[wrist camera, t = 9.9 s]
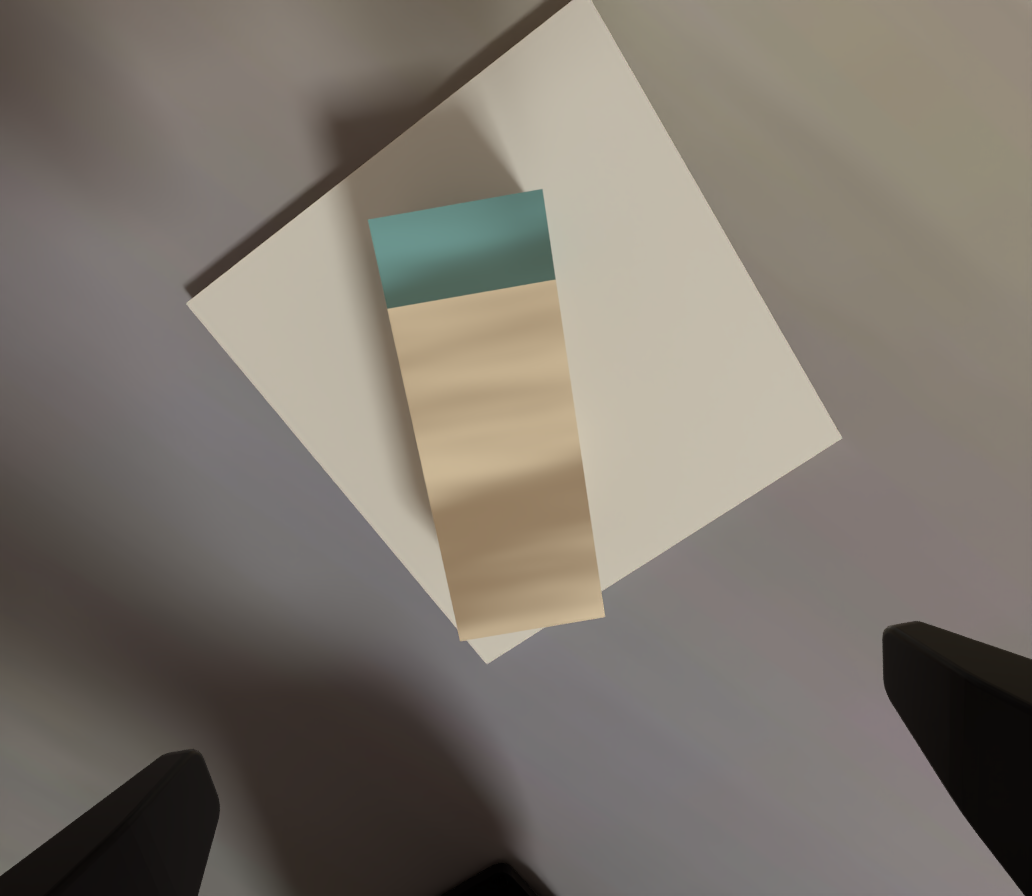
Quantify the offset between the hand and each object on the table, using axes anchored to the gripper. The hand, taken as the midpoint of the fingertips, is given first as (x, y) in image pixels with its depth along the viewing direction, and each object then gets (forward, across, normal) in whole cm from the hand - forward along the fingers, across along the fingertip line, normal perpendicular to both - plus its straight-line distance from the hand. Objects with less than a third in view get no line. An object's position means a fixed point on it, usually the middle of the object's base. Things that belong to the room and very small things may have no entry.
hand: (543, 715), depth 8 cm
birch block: (+10, 0, +4) cm, 11 cm away
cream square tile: (+13, -1, -2) cm, 13 cm away
